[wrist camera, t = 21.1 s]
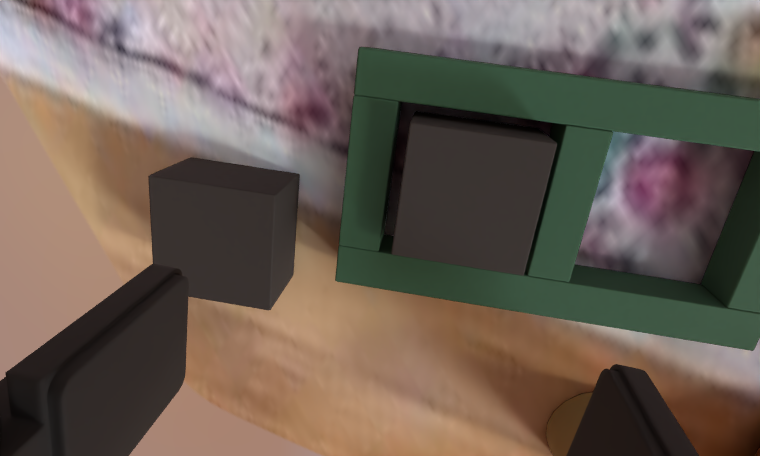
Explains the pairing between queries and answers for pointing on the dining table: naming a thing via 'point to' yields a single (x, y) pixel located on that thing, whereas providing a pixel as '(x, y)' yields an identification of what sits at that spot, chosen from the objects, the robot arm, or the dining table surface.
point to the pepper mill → (566, 424)
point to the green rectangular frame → (555, 196)
